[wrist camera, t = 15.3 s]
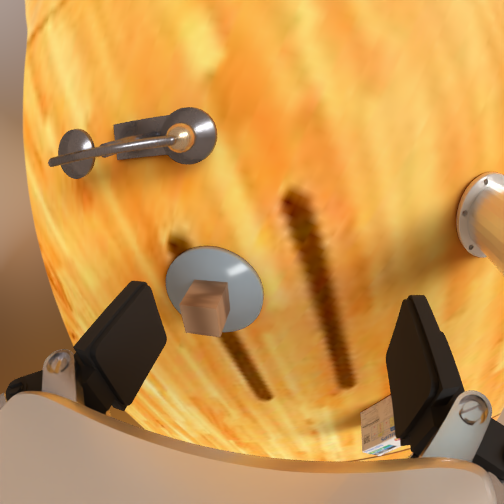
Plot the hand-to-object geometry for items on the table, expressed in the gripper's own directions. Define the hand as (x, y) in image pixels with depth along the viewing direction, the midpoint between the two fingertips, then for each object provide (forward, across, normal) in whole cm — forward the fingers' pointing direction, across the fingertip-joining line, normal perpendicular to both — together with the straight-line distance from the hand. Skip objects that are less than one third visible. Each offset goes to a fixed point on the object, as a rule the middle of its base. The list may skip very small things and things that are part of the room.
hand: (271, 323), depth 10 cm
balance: (+25, +18, -6) cm, 32 cm away
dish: (+26, +13, +18) cm, 34 cm away
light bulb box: (+27, -21, +49) cm, 60 cm away
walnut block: (+24, +13, +17) cm, 33 cm away
